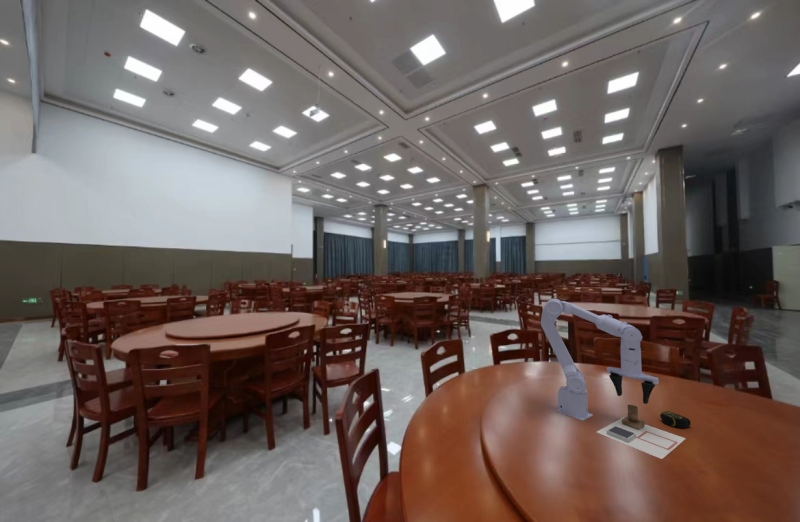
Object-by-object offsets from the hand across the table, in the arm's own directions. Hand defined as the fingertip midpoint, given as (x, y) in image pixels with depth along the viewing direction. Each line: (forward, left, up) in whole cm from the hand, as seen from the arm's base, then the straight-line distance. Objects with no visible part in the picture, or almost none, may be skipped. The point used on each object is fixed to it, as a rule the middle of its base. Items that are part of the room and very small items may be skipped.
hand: (632, 399), depth 103 cm
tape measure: (+7, +14, -10) cm, 19 cm away
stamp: (0, 0, -9) cm, 9 cm away
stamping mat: (+4, -6, -9) cm, 12 cm away
